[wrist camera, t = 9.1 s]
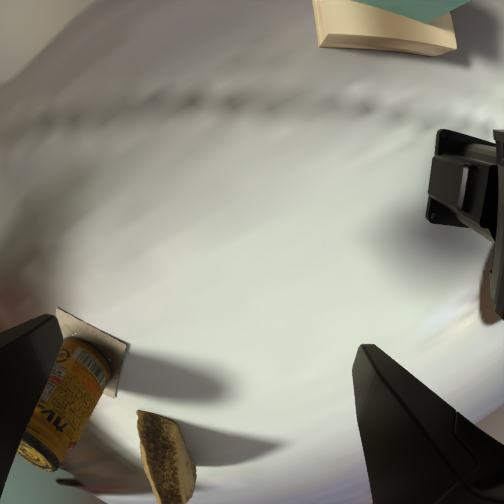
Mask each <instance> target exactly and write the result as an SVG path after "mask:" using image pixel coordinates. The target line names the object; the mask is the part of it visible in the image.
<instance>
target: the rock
mask: <svg viewBox="0 0 504 504" xmlns="http://www.w3.org/2000/svg"><path fill="white" fill-rule="evenodd" d="M136 413H137V415H138V421H137V429H138V433H139V438H140V450H141V459H142V462H143V466H144V470H145V472H146V474H147V477H148V479H149V481H150V483H151V485H152V490H153V494H154V495H155V498H156V499H157V503H158V504H186V503H187V502H188V501H189V499H190V498H191V497H192V495H193V492H194V489H195V482H196V478H197V475H196V466H195V463H194V461H193V460H192V458H191V457H190V454H189V452H188V450H187V449H186V447H185V442H184V440H183V437H182V435H181V434H180V432H179V427H178V426H177V425H176V424H175V423H174V422H172V421H170V420H167V419H165V418H162V417H160V416H158V415H155V414H152V413H148V412H143V411H140V410H137V411H136Z"/></svg>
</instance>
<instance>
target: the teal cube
mask: <svg viewBox="0 0 504 504" xmlns="http://www.w3.org/2000/svg"><path fill="white" fill-rule="evenodd" d="M350 1H354V2H358V3H362V4H366V5H370V6H373V7H377V8H380V9H384V10H387V11H390V12H393V13H396V14H399V15H402V16H405V17H408V18H411V19H414V20H416V21H419V22H422V23H424V24H427V23H429V22H431V21H433V20H434V19H436V18H438V17H440V16H442V15H444V14H446V13H448V12H450V11H452V10H454V9H456V8H458V7H460V6H462V5H464V4H466V3H468V2H470V1H472V0H350Z"/></svg>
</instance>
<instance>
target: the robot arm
mask: <svg viewBox="0 0 504 504" xmlns="http://www.w3.org/2000/svg"><path fill="white" fill-rule="evenodd" d="M443 133H444V134H445V136H446V137H445V139H443V138H442V135H443ZM493 136H494V140H495V141H496V144H494V143H491V142H488V141H485V140H482V139H478V138H475V137H472V136H468V135H465V134H462V133H458V132H454V131H451V130H447V129H440V130H438V132H437V135H436V146H435V155H434V157H433V158H432V166H431V174H430V181H429V188H428V194H429V198H428V204H427V210H426V219H427V220H428V221H429V222H430V223H433V224H442V225H450V226H458V227H465V228H471V229H473V230H474V231H476V232H477V233H479V234H480V235H482V236H483V237H485V238H486V239H488V240H489V241H491V242H492V243H494V244H495V246H494V258H493V265H492V270H491V271H490V277H489V280H490V282H491V286H490V293H491V296H492V299H493V302H494V303H495V309H494V310H495V312H496V313H497V314H498V315H499V316H500V317H501V318H502V320H503V321H504V130H493ZM433 213H435V215H434V217H433V218H431V215H432V214H433ZM62 345H63V335H62V331H61V328H60V325H59V321H58V319H57V317H56V316H54V315H49V314H43V315H41V316H38V317H36V318H34V319H31V320H29V321H26V322H24V323H22V324H19V325H17V326H15V327H12V328H10V329H8V330H5V331H3V332H0V498H1V495H2V492H3V489H4V486H5V482H6V480H7V477H8V474H9V471H10V468H11V466H12V463H13V461H14V458H15V455H16V453H17V450H18V448H19V445H20V443H21V440H22V438H23V436H24V433H25V431H26V429H27V426H28V424H29V422H30V419H31V417H32V415H33V413H34V411H35V408H36V406H37V404H38V402H39V400H40V398H41V396H42V393H43V391H44V389H45V387H46V385H47V383H48V381H49V378H50V376H51V373H52V370H53V368H54V365H55V363H56V360H57V358H58V355H59V353H60V350H61V348H62ZM352 376H353V386H354V395H355V405H356V415H357V422H358V427H359V432H360V437H361V442H362V446H363V451H364V456H365V461H366V467H367V472H368V477H369V483H370V488H371V494H372V500H373V504H504V445H503V444H501V443H500V442H498V441H497V440H495V439H494V438H492V437H491V436H489V435H488V434H486V433H485V432H484V431H482V430H481V429H479V428H478V427H477V426H475V425H474V424H473V423H472V422H470V421H469V420H468V419H466V418H465V417H464V416H463V415H461V414H460V413H459V412H456V410H455V409H454V408H453V407H451V406H450V405H449V404H448V403H447V402H445V401H444V400H443V399H442V398H440V397H439V396H438V395H437V394H435V393H434V392H433V391H432V390H431V389H429V388H428V387H427V386H426V385H424V384H423V383H422V382H421V381H419V380H418V379H417V378H416V377H414V376H413V375H412V374H411V373H410V372H408V371H407V370H406V369H405V368H403V367H402V366H401V365H400V364H398V363H397V362H396V361H395V360H393V359H392V358H391V357H390V356H388V355H387V354H386V353H385V352H383V351H382V350H381V349H380V348H379V347H377V346H376V345H374V344H361V345H360V346H359V348H358V351H357V354H356V357H355V361H354V364H353V368H352Z"/></svg>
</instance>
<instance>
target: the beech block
mask: <svg viewBox="0 0 504 504" xmlns="http://www.w3.org/2000/svg"><path fill="white" fill-rule="evenodd" d="M312 2H313V8H314V15H315V22H316V29H317V36H318V44H319V47H336V48H361V49H375V50H387V51H396V52H405V53H412V54H419V55H426V56H432V57H434V56H437V55H440V54H444V53H447V52H450V51H453V50H456V49H457V45H456V39H455V33H454V28H453V23H452V18H451V14H450V12H448V13H446V14H444V15H442V16H440V17H438V18H436V19H434V20H433V21H431V22H429V23H427V24H424V23H422V22H419V21H416V20H414V19H411V18H408V17H405V16H402V15H399V14H396V13H393V12H390V11H387V10H384V9H380V8H377V7H373V6H370V5H366V4H362V3H358V2H354V1H350V0H312Z"/></svg>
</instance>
